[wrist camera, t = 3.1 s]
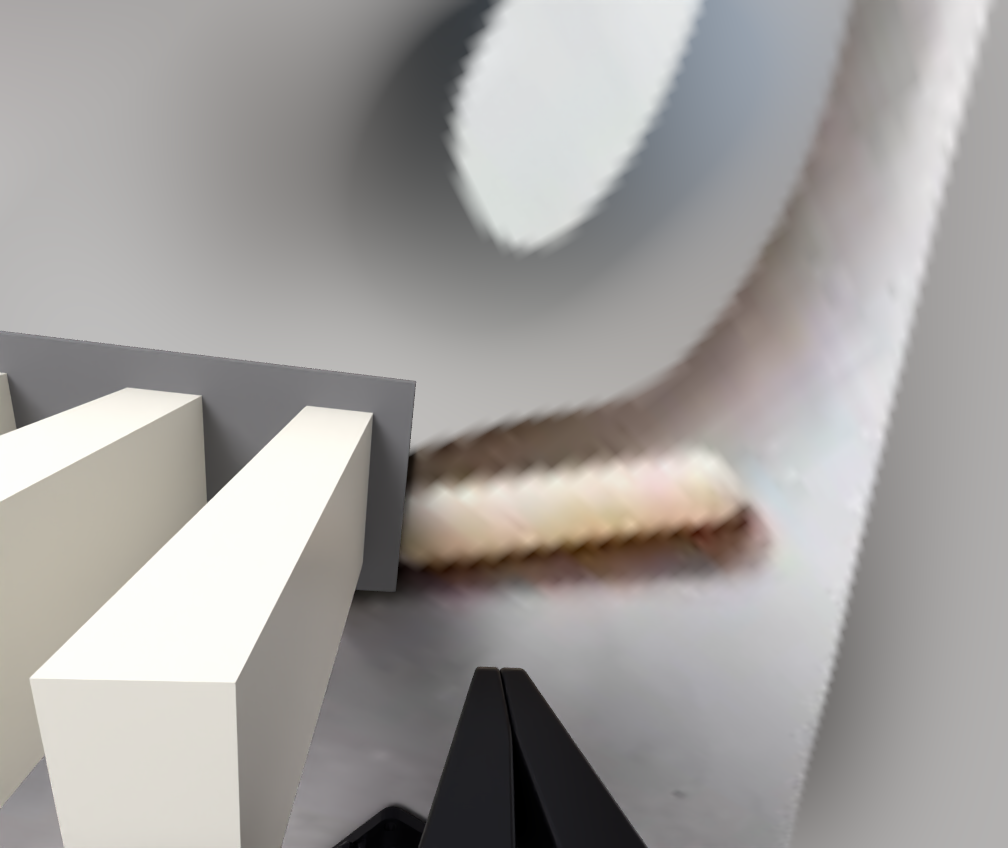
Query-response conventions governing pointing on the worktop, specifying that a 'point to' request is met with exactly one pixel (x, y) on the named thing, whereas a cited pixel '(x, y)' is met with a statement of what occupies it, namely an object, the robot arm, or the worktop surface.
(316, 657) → the domino
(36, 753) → the domino
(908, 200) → the worktop surface
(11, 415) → the domino
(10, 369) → the strip
